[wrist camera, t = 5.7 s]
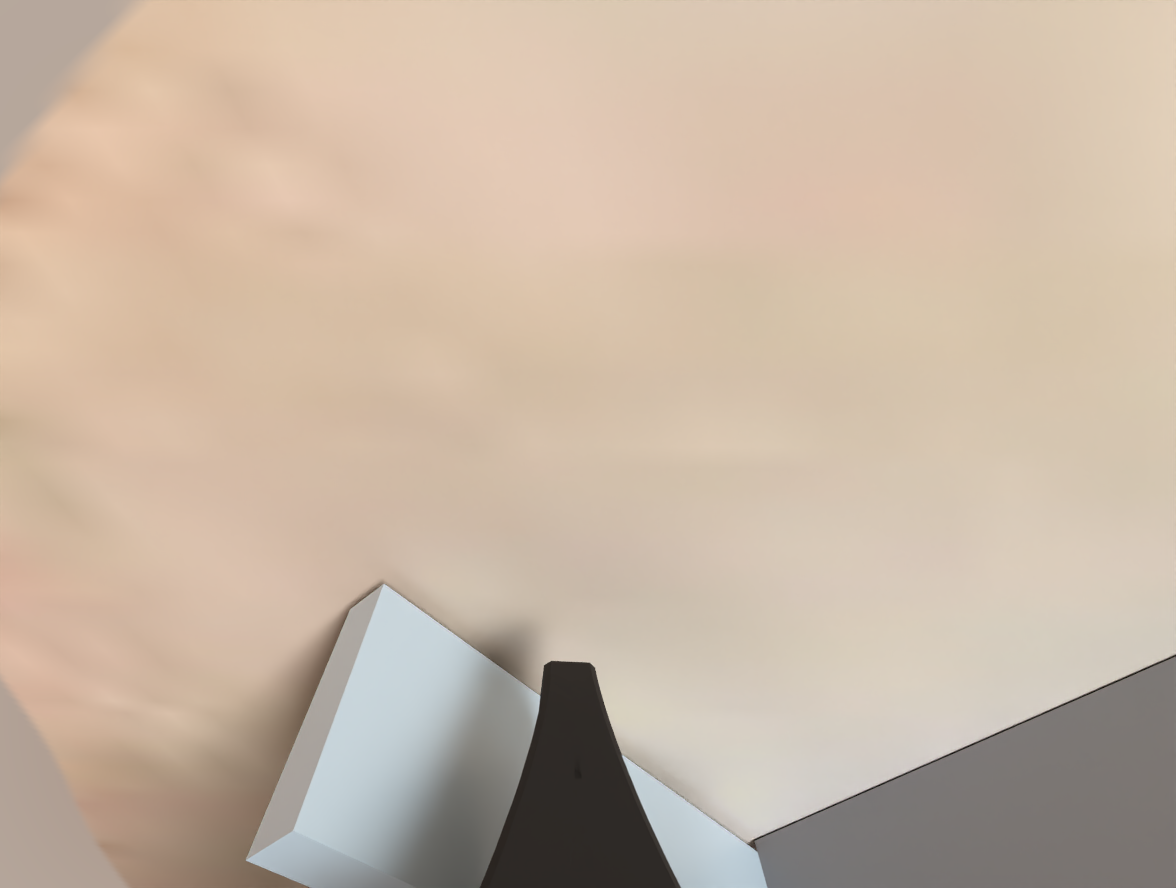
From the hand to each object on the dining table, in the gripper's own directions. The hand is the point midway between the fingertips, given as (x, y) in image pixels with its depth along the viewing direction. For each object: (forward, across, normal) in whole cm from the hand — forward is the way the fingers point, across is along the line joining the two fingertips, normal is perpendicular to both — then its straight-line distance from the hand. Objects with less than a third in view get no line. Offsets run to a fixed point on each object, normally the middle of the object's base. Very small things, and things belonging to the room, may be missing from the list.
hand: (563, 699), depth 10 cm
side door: (+2, -1, +5) cm, 5 cm away
